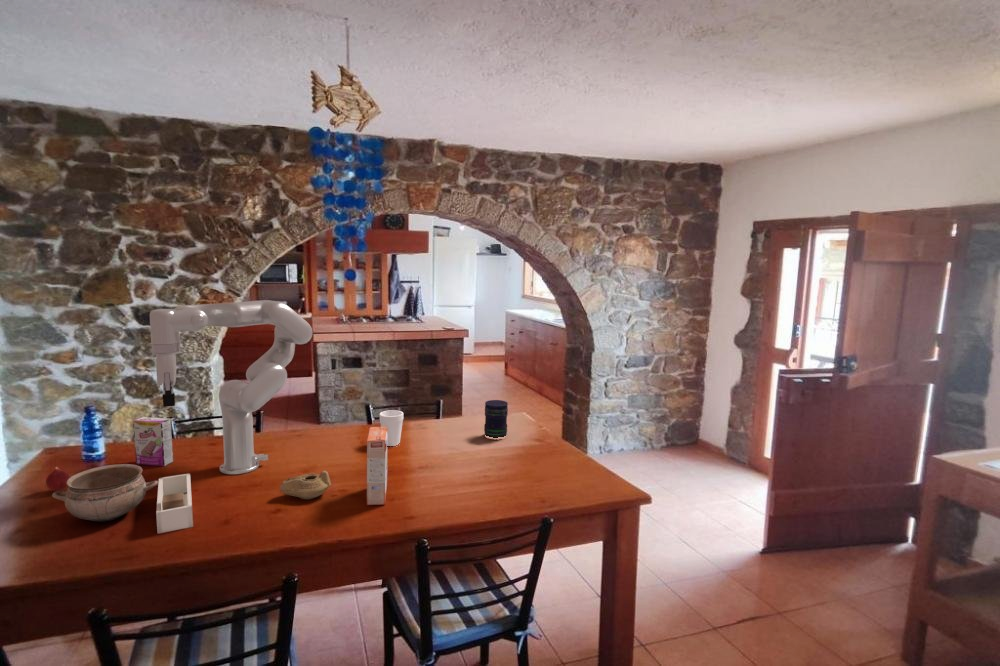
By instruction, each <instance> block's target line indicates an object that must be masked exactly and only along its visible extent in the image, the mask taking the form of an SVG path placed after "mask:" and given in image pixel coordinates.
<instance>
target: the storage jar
mask: <svg viewBox="0 0 1000 666" xmlns="http://www.w3.org/2000/svg"><path fill="white" fill-rule="evenodd" d="M508 405H509V402H508V401H505V400H501V399H500V400H499V399H491V400H487V401H485V403H484V416H485V419H484V420H485V423H484V435H486V436H489V437H493V438H498V437H504V436H506V435H508V423H507V422H508V421H507V420H508V416H509V414H508V409H509V408H508Z"/></svg>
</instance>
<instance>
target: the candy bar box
mask: <svg viewBox="0 0 1000 666" xmlns="http://www.w3.org/2000/svg"><path fill="white" fill-rule="evenodd" d="M132 425H133V440H134V450H135V451H134V454H135V465H144V466H157V467H158V466H159V467H167V466H168V465H170V464H171V463H174V453H173V449H174V448H173V437H172V436H173V435H172V434H173V432H172V419H171V418H166V417H165V418H164V417H163V418H162V417H151V416H150V417H149V416H141V417H138V418H135V419H134V420H132Z"/></svg>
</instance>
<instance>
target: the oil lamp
mask: <svg viewBox="0 0 1000 666" xmlns="http://www.w3.org/2000/svg"><path fill="white" fill-rule="evenodd" d="M331 485H332V482H331V477H330V476H329V472H328V471H326V470H322V472H321V473H320V474H318V473H306V474H301V475H296V476H292V477H290V478H287V479H285V480H283V481H282V483H281V484H280V487H279V490H280V492H282V493H284V494H285V495H287V496H293V497H297V498H299V499H302V500H313V499H316V498H318V497H320V496H321V495H322V494H323V493H324V492H326V491H327V490H328V489H329V488H330V487H331Z"/></svg>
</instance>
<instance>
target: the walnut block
mask: <svg viewBox="0 0 1000 666" xmlns="http://www.w3.org/2000/svg"><path fill="white" fill-rule="evenodd" d="M183 506H184V494H183V492H182V493H176V494H170V495H163V498H162V510H166V509H171V508H177V507H183Z"/></svg>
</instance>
